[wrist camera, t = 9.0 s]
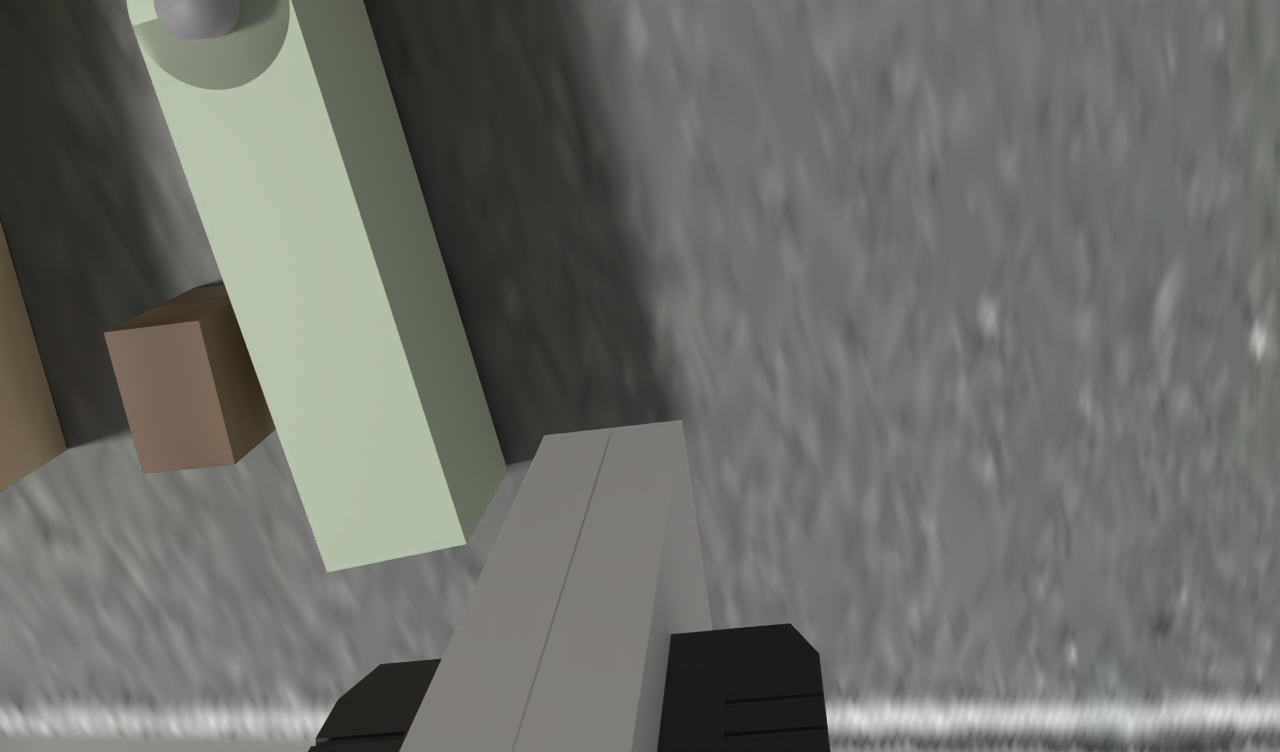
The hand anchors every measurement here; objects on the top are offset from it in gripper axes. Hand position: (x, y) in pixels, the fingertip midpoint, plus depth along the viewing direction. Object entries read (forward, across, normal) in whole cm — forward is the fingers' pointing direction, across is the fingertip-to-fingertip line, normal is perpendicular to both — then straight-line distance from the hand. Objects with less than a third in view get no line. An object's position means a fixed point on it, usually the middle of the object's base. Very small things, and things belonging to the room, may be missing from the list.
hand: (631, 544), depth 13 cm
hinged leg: (+14, -7, +2) cm, 16 cm away
